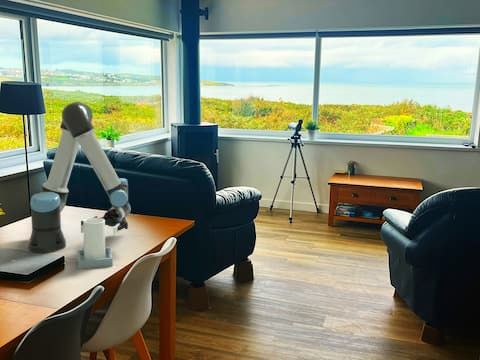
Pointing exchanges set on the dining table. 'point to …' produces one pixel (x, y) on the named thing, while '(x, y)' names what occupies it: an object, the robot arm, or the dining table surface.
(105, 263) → the dock tray
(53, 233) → the robot arm
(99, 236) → the cup
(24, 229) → the dining table surface
